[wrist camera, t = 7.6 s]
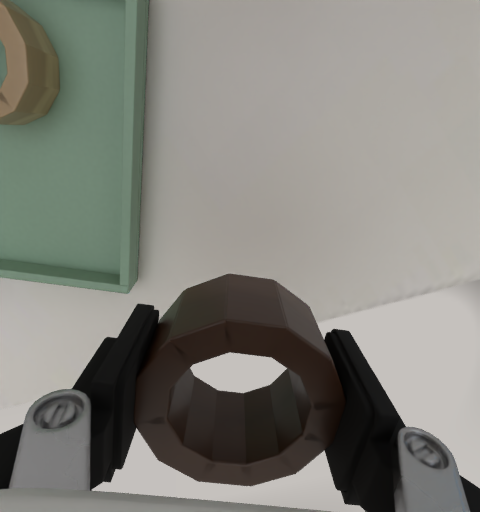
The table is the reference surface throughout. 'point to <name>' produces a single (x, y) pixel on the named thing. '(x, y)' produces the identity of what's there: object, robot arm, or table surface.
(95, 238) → the tray
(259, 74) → the table surface
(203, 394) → the walnut ring
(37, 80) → the birch ring
